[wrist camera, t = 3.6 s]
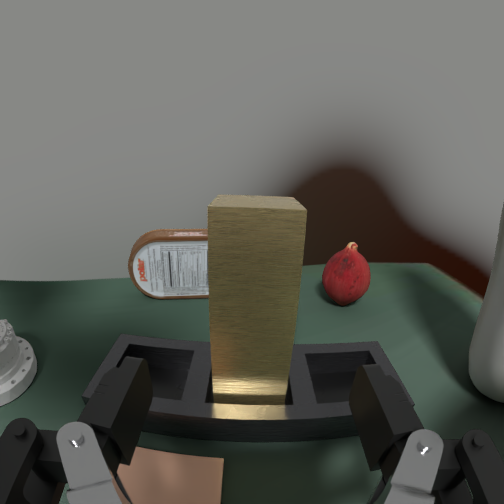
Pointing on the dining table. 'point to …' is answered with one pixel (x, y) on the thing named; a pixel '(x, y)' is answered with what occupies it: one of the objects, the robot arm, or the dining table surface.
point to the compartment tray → (247, 416)
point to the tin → (171, 264)
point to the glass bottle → (490, 331)
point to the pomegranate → (346, 275)
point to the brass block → (253, 295)
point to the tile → (172, 478)
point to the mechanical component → (14, 364)
